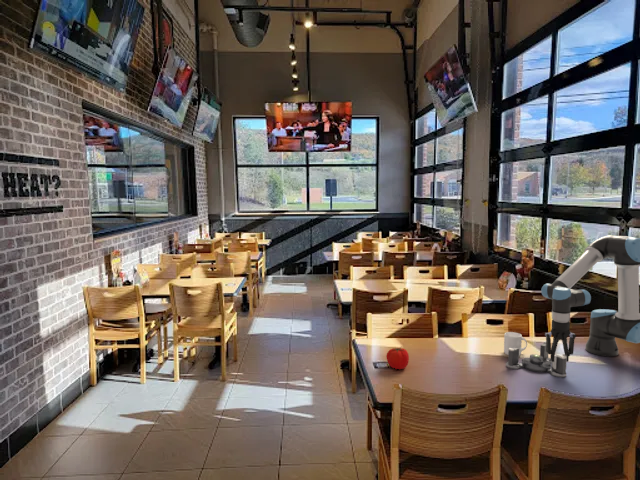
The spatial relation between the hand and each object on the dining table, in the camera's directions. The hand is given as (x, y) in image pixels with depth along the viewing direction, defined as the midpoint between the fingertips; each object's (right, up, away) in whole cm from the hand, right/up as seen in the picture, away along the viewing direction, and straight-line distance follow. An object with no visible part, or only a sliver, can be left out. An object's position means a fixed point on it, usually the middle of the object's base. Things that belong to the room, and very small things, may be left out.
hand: (559, 367), depth 207 cm
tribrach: (-8, -2, +10) cm, 13 cm away
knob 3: (0, -2, 0) cm, 2 cm away
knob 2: (+2, 0, +17) cm, 17 cm away
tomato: (-75, -4, +12) cm, 76 cm away
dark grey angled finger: (-17, -1, +11) cm, 20 cm away
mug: (-8, -1, +28) cm, 29 cm away
